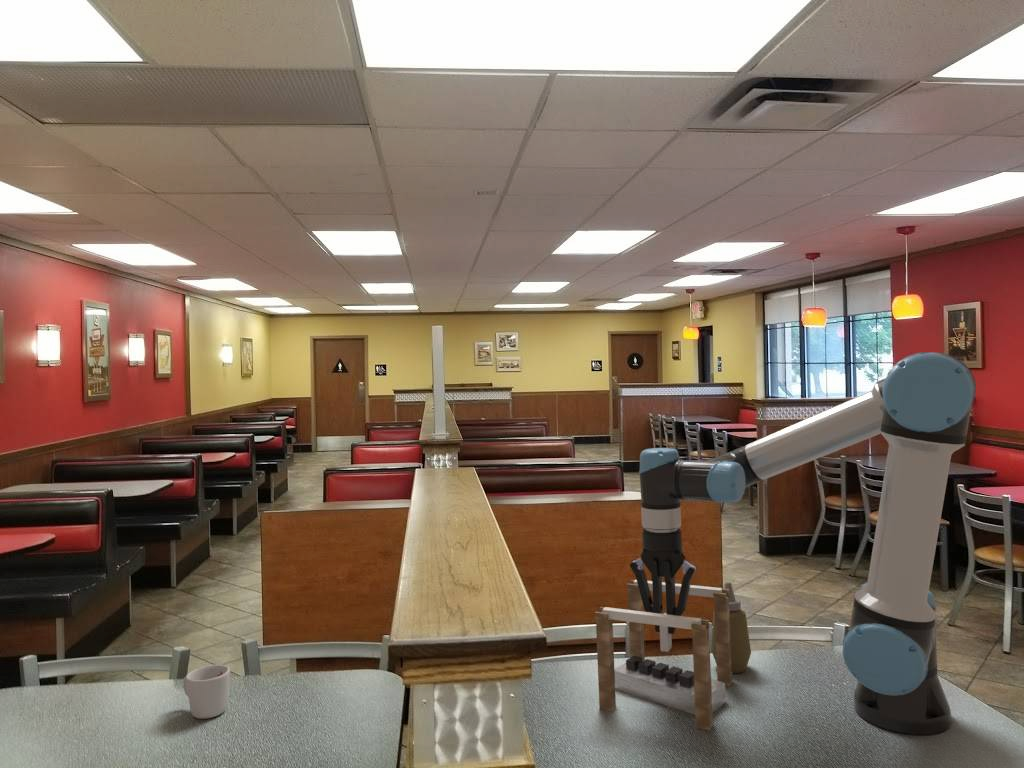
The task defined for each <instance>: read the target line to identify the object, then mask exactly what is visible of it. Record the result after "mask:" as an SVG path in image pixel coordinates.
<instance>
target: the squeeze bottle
mask: <svg viewBox="0 0 1024 768" xmlns="http://www.w3.org/2000/svg"><path fill="white" fill-rule="evenodd" d="M723 589H729V616H730V642H731V667H732V674H739V673H743V672H745V671H746V670H747V667H748V664H749V661H750V658H751V654H752V650H751V649H752V648H751V643H750V641H751V640H750V636H749V629H748V622H747V615H746V612H745V611H744V610H743V609H742V608H741V607H742V606H741V600H740V599H739V598H737V597H736V596H735V594H734V593H735V592H734V588H733V586H732V582H730V581H729V582H728V581H727V582H725V583H724V588H723ZM712 612H713V615H712V627H711V628H712V630H711V632H712V633H711V643H710V650H711V651H710V652H711V654H712V656H713V659H714V662H715V663H716V666H717V658H716V633H715V609H714V610H713V611H712Z"/></svg>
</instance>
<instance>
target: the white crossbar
mask: <svg viewBox="0 0 1024 768" xmlns="http://www.w3.org/2000/svg"><path fill="white" fill-rule="evenodd" d="M634 580H635V581H633V584H638V583H637V580H636V579H634ZM647 582H648V585H649V589H650V592H653V585H652V580H647ZM681 585H682V583H675V595H679V594H680V590H681ZM722 589H723V588H722V587H714V586H713V587H712V586H704V585H694V584H692V585H691V584H690V589H689V593H688V596H695V597H704V598H712V599H714V595H713V593H714V592H717V593H722ZM662 593H665V594H666V585H665V581H664V582H663V581H662Z"/></svg>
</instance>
